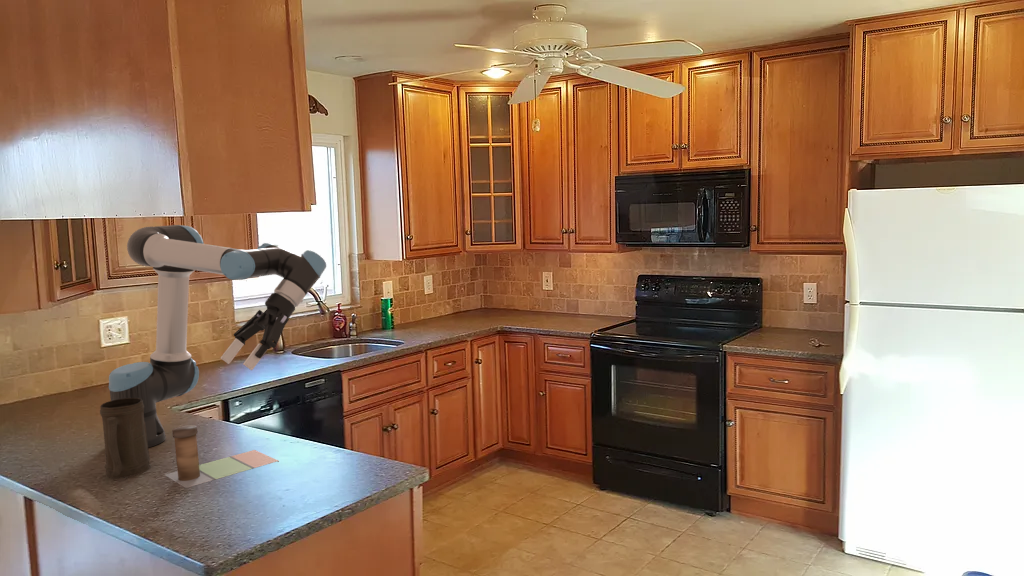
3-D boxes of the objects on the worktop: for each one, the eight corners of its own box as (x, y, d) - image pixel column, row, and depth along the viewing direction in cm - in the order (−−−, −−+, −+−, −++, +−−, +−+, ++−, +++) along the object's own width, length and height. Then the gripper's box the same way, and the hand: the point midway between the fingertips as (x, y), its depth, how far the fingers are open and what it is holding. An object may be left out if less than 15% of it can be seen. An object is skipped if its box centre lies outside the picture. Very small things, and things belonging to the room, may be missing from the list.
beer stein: (109, 471, 191) (100, 399, 188) (154, 464, 195) (146, 393, 191) (99, 495, 177) (89, 417, 173) (148, 487, 181) (139, 411, 177)
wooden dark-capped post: (173, 477, 180) (168, 429, 179) (196, 471, 184) (191, 423, 183) (182, 483, 176) (177, 433, 175) (204, 476, 180) (200, 427, 179)
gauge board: (164, 479, 183) (164, 474, 183) (255, 454, 200) (254, 449, 200) (186, 493, 173) (185, 487, 173) (279, 465, 190) (278, 460, 190)
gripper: (317, 311, 190) (268, 378, 181) (272, 305, 207) (226, 366, 198) (297, 293, 185) (246, 361, 176) (253, 289, 203) (205, 350, 194)
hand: (235, 364), depth 187 cm, fingers open, 13 cm apart
